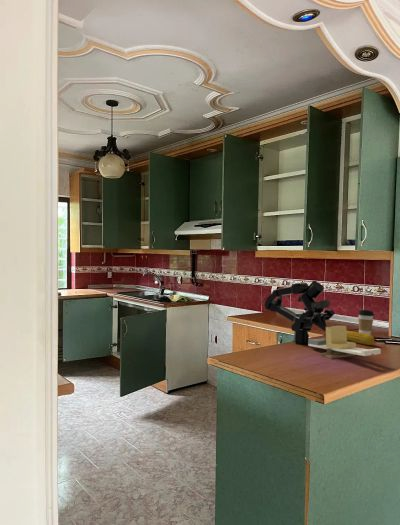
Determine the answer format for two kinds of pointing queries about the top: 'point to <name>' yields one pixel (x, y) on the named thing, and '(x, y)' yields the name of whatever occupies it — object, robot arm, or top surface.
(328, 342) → the block
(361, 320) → the coffee cup
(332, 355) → the beam stand
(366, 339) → the food
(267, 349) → the top surface
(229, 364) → the top surface
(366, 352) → the white twin rails
